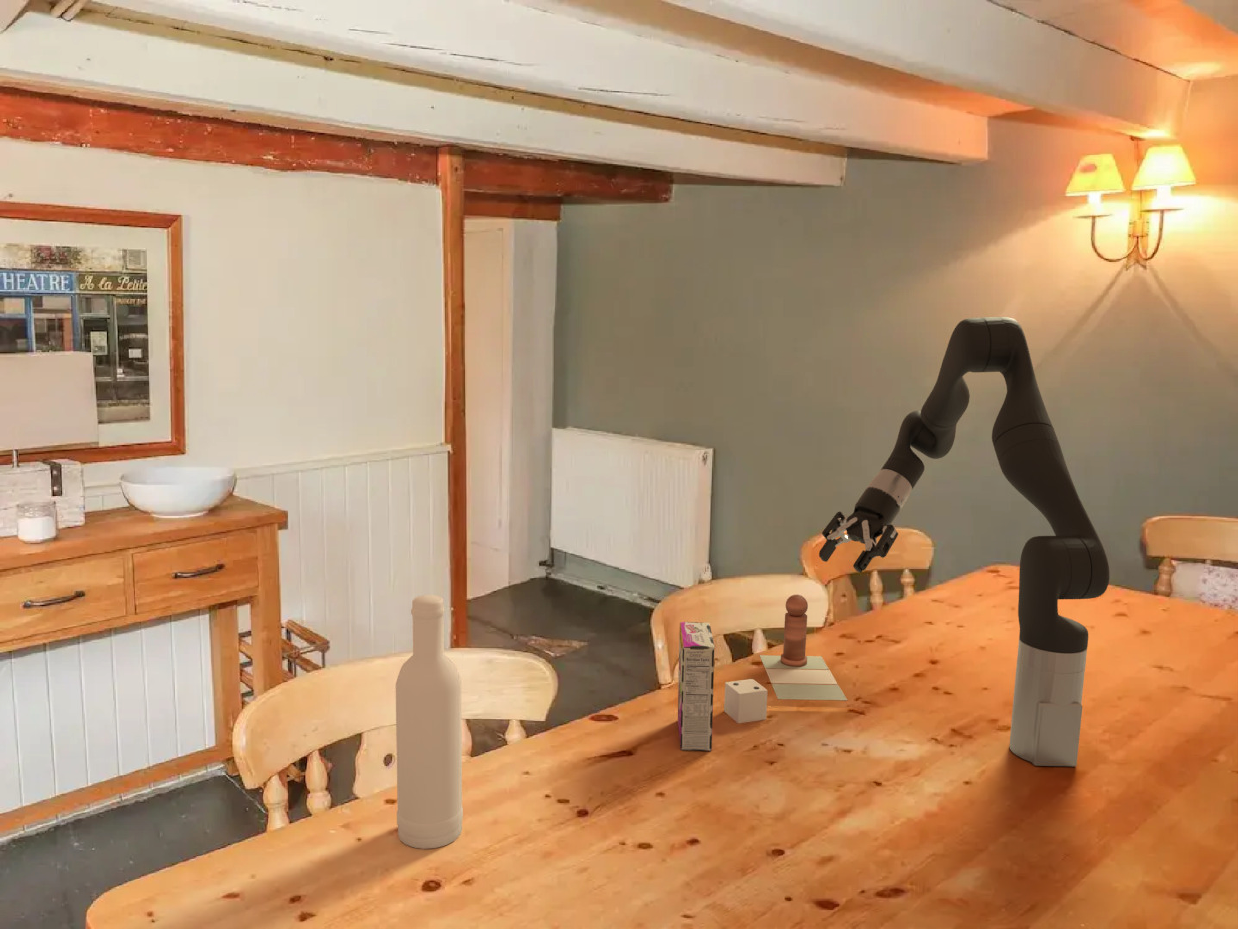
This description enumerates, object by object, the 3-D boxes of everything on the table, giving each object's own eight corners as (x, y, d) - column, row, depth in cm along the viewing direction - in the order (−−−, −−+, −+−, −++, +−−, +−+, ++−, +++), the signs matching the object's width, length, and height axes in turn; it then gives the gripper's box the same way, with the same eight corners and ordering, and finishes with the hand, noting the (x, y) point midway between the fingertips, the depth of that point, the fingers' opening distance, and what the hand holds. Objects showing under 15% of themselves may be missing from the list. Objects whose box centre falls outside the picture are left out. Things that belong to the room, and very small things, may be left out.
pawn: (809, 667, 178) (813, 599, 176) (782, 666, 178) (786, 598, 176) (804, 657, 183) (807, 591, 181) (778, 657, 183) (781, 591, 181)
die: (766, 720, 157) (767, 689, 156) (738, 724, 155) (739, 693, 154) (751, 707, 161) (752, 678, 161) (724, 711, 160) (725, 682, 159)
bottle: (434, 809, 127) (432, 585, 122) (476, 831, 122) (475, 598, 117) (383, 834, 121) (379, 599, 116) (425, 858, 116) (422, 613, 111)
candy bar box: (675, 720, 156) (678, 620, 153) (707, 721, 156) (710, 621, 153) (678, 751, 145) (681, 645, 142) (712, 752, 145) (716, 646, 142)
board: (852, 705, 163) (852, 702, 163) (774, 704, 163) (774, 700, 163) (824, 658, 185) (824, 655, 184) (755, 657, 184) (755, 653, 184)
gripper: (846, 480, 192) (802, 544, 188) (905, 492, 181) (859, 561, 176) (863, 503, 196) (819, 567, 192) (922, 517, 185) (877, 585, 180)
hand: (839, 564), depth 184 cm, fingers open, 8 cm apart
